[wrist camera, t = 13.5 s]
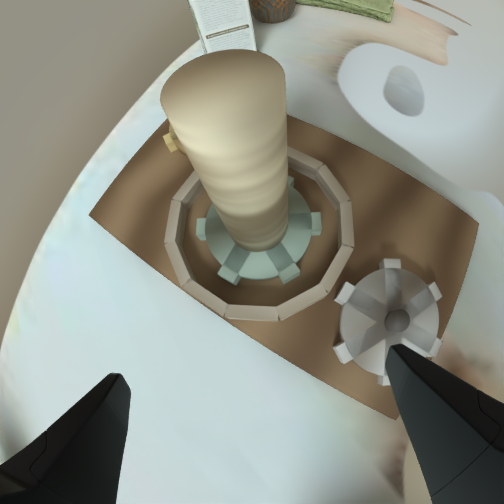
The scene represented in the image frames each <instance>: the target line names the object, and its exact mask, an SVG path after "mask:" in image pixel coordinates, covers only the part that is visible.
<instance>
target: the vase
mask: <svg viewBox="0 0 504 504" xmlns="http://www.w3.org/2000/svg"><path fill="white" fill-rule="evenodd" d="M248 1H249V6H250V12H251V14H252V15H253V16H254V17H255V18H256V19H258V20H260V21H262V22H265V23H278V22H282V21H284V20H286V19H287V18H288V17H289V16H290V15H291V14H292V12H293V10H294V8H295V0H248Z"/></svg>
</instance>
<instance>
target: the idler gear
mask: <svg viewBox="0 0 504 504" xmlns="http://www.w3.org/2000/svg"><path fill="white" fill-rule="evenodd" d="M160 102H161V106H162V108H163V110H164V112H165V114H166V116H167V118H168V120H169V122H170V124H171V125H172V127H173V129H174V131H175V133H176V135H177V137H178V139H179V141H180V143H181V145H182V146H183V148H184V150H185V152H186V154H187V156H188V158H189V160H190V162H191V164H192V165H193V167H194V169H195V171H196V173H197V175H198V177H199V179H200V181H201V182H202V184H203V186H204V188H205V190H206V192H207V194H208V196H209V197H210V199H211V201H212V204H211V206H210V208H209V211H208V213H207V216H206V218H197V226H196V235H197V237H198V238H199V239H200V240H201V241H202V240H206V241H207V244H208V247H209V249H210V251H211V252H212V254H213V255H214V257H215V258H216V259H217V260H218V262H219V263H220V264H221V265H222V267H221V268H220V270H219V272H218V275H219V276H220V277H221V278H223V279H225V280H227V281H228V282H230V283H232V284H234V285H235V286H237V284H238V283H239V281H240V279H241V278H244V279H249V280H268V279H273V278H276V277H280V279H281V281H282V282H283V284H286V283H288V282H289V281H291V280H292V279H294V278H296V277H297V276H299V275H300V270H299V268H298V267H297V264H298V263H299V262H300V260H301V259H302V258H303V256H304V255H305V253H306V251H307V248H308V246H309V242H310V238H311V236H315V235H320V234H321V230H322V224H321V215H320V212H312V213H311V212H310V209H309V207H308V205H307V202H306V201H305V199H304V198H303V196H302V195H301V194H300V193H299V192H298V191H297V190H296V189H295V188H293V187H294V178H293V177H290V176H288V151H287V113H286V87H285V73H284V70H283V68H282V66H281V65H280V64H279V63H278V62H277V61H276V60H275V59H273V58H272V57H270V56H268V55H266V54H264V53H261V52H258V51H253V50H247V49H228V50H221V51H216V52H212V53H208V54H205V55H202V56H200V57H197V58H195V59H193V60H191V61H189V62H188V63H186V64H184V65H183V66H181V67H180V68H179V69H178V70H176V71H175V72H174V73H173V74H172V75H171V76H170V77H169V79H168V80H167V81H166V83H165V84H164V86H163V88H162V91H161V95H160Z"/></svg>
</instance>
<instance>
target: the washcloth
mask: <svg viewBox="0 0 504 504" xmlns="http://www.w3.org/2000/svg"><path fill="white" fill-rule="evenodd" d="M393 1H394V0H295V3H298V4H305V5H311V6H316V7H324V8H328V9H334V10H340V11H345V12H350V13H355V14H360V15H363V16H368V17H372V18H375V19H377V20H381V21H385V22H390V21H391V18H392V15H393V12H394V8H393Z"/></svg>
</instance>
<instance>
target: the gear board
mask: <svg viewBox="0 0 504 504" xmlns="http://www.w3.org/2000/svg"><path fill="white" fill-rule="evenodd" d="M287 151H288V176H290V177H293V178H294V187H293V188H295V189H296V190H297V191H298V192H299V193H300V194H301V195H302V196H303V198H304V199H305V201H306V202H307V205H308V207H309V209H310V212H311V213H312V212H320V215H321V224H322V230H321V234H320V235H315V236H311V238H310V242H309V246H308V248H307V251H306V253H305V255H304V256H303V258H302V259H301V260H300V262H299V263H298V264H297V267H298V268H299V270H300V275H299V276H297V277H296V278H294V279H292V280H291V281H289V282H288V283H286V284H283V282H282V281H281V279H280V277H276V278H273V279H268V280H249V279H244V278H241V279H240V281H239V283H238V284H237V286H235V285H234V284H232V283H230V282H228V281H227V280H225V279H223V278H221V277H220V276H219V275H218V272H219V270H220V268H221V267H222V265H221V264H220V263H219V262H218V260H217V259H216V258H215V257H214V255H213V254H212V252H211V251H210V249H209V247H208V244H207V241H206V240H202V241H201V240H200V239H199V238H198V237H197V235H196V226H197V218H206V216H207V213H208V211H209V208H210V206H211V204H212V201H211V199H210V197H209V196H208V194H207V192H206V190H205V188H204V186H203V184H202V182H201V181H200V179H199V177H198V175H197V173H196V171H195V169H194V167H193V165H192V164H191V162H190V160H189V158H188V156H187V154H186V152H185V150H184V148H183V146H182V145H181V143H180V141H179V139H178V137H177V135H176V133H175V131H174V129H173V127H172V125H171V124H170V122H169V120H168V118H167V119H166V120H165V121H164V122H163V123H162V125H161V126H160V127H159V128H158V129H157V130H156V131H155V132H154V133H153V134H152V135H151V137H150V138H149V139H148V140H147V141H146V142H145V143H144V144H143V146H142V147H141V148H140V149H139V150H138V151H137V153H136V154H135V155H134V156H133V157H132V158H131V160H130V161H129V162H128V163H127V164H126V166H125V167H124V168H123V169H122V171H121V172H120V173H119V174H118V176H117V177H116V178H115V180H114V181H113V182H112V183H111V185H110V186H109V187H108V189H107V190H106V191H105V193H104V194H103V196H102V197H101V198H100V200H99V201H98V202H97V204H96V205H95V207H94V208H93V209H92V211H91V212H90V214H89V216H90V217H91V218H92V219H94V220H95V221H96V222H97V223H98V224H99V225H101V226H102V227H103V228H104V229H105V230H107V231H108V232H109V233H110V234H111V235H113V236H114V237H115V238H116V239H117V240H119V241H120V242H121V243H122V244H124V245H125V246H126V247H127V248H128V249H130V250H131V251H132V252H133V253H135V254H136V255H137V256H138V257H140V258H141V259H142V260H144V261H145V262H146V263H147V264H149V265H150V266H151V267H153V268H154V269H155V270H156V271H158V272H159V273H160V274H162V275H163V276H164V277H166V278H167V279H168V280H170V281H171V282H172V283H174V284H175V285H176V286H178V287H179V288H180V289H182V290H183V291H185V292H186V293H187V294H189V295H190V296H191V297H193V298H194V299H196V300H197V301H198V302H200V303H201V304H203V305H204V306H205V307H207V308H208V309H210V310H211V311H213V312H214V313H215V314H217V315H218V316H220V317H221V318H223V319H224V320H226V321H227V322H229V323H230V324H232V325H233V326H234V327H236V328H237V329H239V330H240V331H242V332H243V333H245V334H247V335H248V336H250V337H251V338H253V339H254V340H256V341H257V342H259V343H260V344H262V345H263V346H265V347H267V348H268V349H270V350H271V351H273V352H274V353H276V354H278V355H279V356H281V357H283V358H284V359H286V360H287V361H289V362H291V363H292V364H294V365H296V366H297V367H299V368H301V369H302V370H304V371H306V372H307V373H309V374H311V375H312V376H314V377H316V378H318V379H319V380H321V381H323V382H324V383H326V384H328V385H330V386H331V387H333V388H335V389H337V390H339V391H340V392H342V393H344V394H346V395H348V396H350V397H351V398H353V399H355V400H357V401H359V402H361V403H363V404H364V405H366V406H368V407H370V408H372V409H374V410H376V411H378V412H380V413H382V414H384V415H386V416H388V417H390V418H392V419H394V420H396V419H397V418H398V416H399V415H400V413H399V410H398V408H397V405H396V402H395V399H394V395H393V392H392V388H391V385H390V381H389V378H388V375H387V372H386V368H385V362H386V358H387V354H388V350H389V347H390V346H391V345H395V344H398V343H402V344H404V345H405V346H407V347H409V348H410V349H412V350H414V351H415V352H417V353H419V354H420V355H422V356H424V357H425V358H427V359H429V360H430V361H431V359H432V357H436V355H437V353H438V351H439V349H440V347H441V344H442V342H443V341H441V337H442V335H443V333H444V331H445V328H446V326H447V324H448V321H449V319H450V316H451V314H452V311H453V309H454V306H455V303H456V301H457V298H458V295H459V292H460V290H461V287H462V284H463V281H464V278H465V274H466V271H467V268H468V265H469V261H470V258H471V254H472V250H473V247H474V243H475V239H476V235H477V230H478V226H479V223H478V222H477V221H475V220H474V219H473V218H471V217H470V216H469V215H468V214H466V213H465V212H463V211H462V210H461V209H459V208H458V207H457V206H455V205H454V204H452V203H451V202H450V201H448V200H447V199H445V198H444V197H442V196H441V195H439V194H438V193H436V192H435V191H433V190H432V189H430V188H429V187H427V186H426V185H424V184H423V183H421V182H420V181H418V180H416V179H415V178H413V177H411V176H410V175H408V174H407V173H405V172H403V171H402V170H400V169H398V168H396V167H395V166H393V165H391V164H389V163H388V162H386V161H384V160H382V159H381V158H379V157H377V156H375V155H373V154H371V153H369V152H368V151H366V150H364V149H362V148H360V147H358V146H356V145H354V144H352V143H350V142H348V141H346V140H344V139H342V138H340V137H338V136H335V135H333V134H331V133H329V132H327V131H325V130H322V129H320V128H318V127H316V126H313V125H311V124H309V123H306V122H304V121H302V120H299V119H297V118H294V117H292V116H289V115H287Z"/></svg>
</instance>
